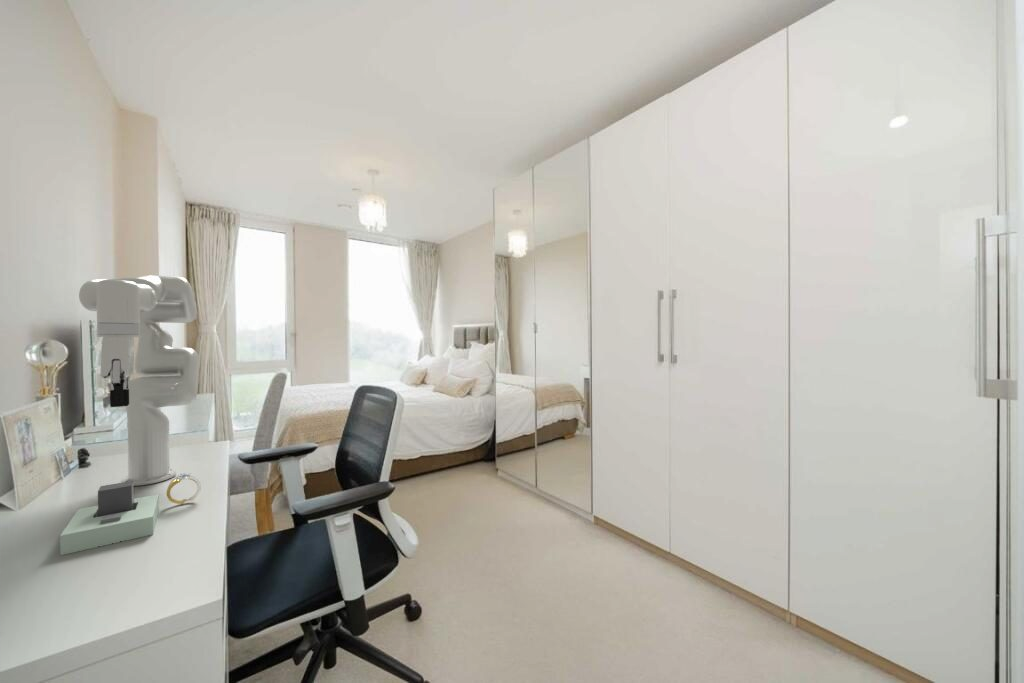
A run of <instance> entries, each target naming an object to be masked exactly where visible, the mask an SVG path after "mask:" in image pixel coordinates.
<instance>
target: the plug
mask: <svg viewBox="0 0 1024 683" xmlns="http://www.w3.org/2000/svg"><path fill="white" fill-rule="evenodd" d="M134 495H135V494H134V486H133V481H129V482H123V483H121V482H118V483H112V484H105V485H100V487H99V488H98V490H97V505H98V517H100V516H105V515H111V514H116V513H121V512H126V511H131V510H134V499H135V497H134Z"/></svg>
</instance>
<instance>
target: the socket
mask: <svg viewBox="0 0 1024 683" xmlns="http://www.w3.org/2000/svg"><path fill="white" fill-rule="evenodd" d="M159 495H160V494H153V495H148V496H142V497H137V498H134V510H131V511H126V512H121V513H116V514H111V515H105V516H100V517H98V504H97V505H92V506H87V507H80V508H78V509H77V511H76V512H75V514H74V515H73V516H72V517H71V519H70V521H69V522H68V523H67V525H66V527H65V528H64V529H63V531H62V532H61V534H60V535H59V540H60V542H59V544H60V545H59V546H60V549H59V551H60V553H59V554H60V556H65V555H67V554H73V553H76V552H82V551H85V550H91V549H95V548H99V547H98V546H100V547H102V546H108V545H112V543H113V544H117V543H121V542H120V541H122V542H126V541H129V540H134V539H139V538H143V537H144V538H145V537H149V536H152V535H154V533H155V527H156V524H157V519H158V515H159V511H160V501H159V500H160V499H159V498H160V497H159ZM125 540H126V541H125Z"/></svg>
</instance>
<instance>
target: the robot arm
mask: <svg viewBox="0 0 1024 683" xmlns="http://www.w3.org/2000/svg"><path fill="white" fill-rule="evenodd" d="M78 292H79V293H78V298H79V299H78V300H79V302H80V304H81V305H82V306H83V307H84V308H85V309H86V310H88V311H91V312H96V337H97V338H102V340H101V350H100V378H101V379H103V380H105V379H107V378H110V379H109V381H110V390H109V404H110V405H109V407H111V408H118V407H119V408H120V407H125V409H126V417H127V419H126V421H127V463H128V466H127V468H128V469H127V470H128V471H127V476H124V477H123V478H122V479H121V480H120V483H123V482H129V481H133V487H134V486H135V487H136V486H137V487H138V486H144V485H145V486H146V485H152V484H156V483H161V482H163V481H166V480H167V481H168V480H169V479H172V478H175V476H177V475H176V474H177V471H176V469H173V468H170V465H171V464H170V462H171V461H170V420H169V418H168V416H167V415H166V414H165V413H164V412H162V410H161V409H159V408H167V407H175V406H176V407H179V406H188V405H191V404H193V403H194V402H195V401H196V399H197V395H198V388H199V372H200V359H199V354H198V352H197V351H196V350H195V349H194V348H191V347H173V342H174V339H173V336H172V335H171V334H170V333H169V332H168V331H167V330H166V329H165V328H164V327H162V326H161V325H159V324H157V323H168V324H170V323H172V324H174V323H175V324H188V323H191V322H193V321H195V320H196V319H197V315H198V309H197V308H198V307H197V303H196V299H195V294H194V290H193V288H192V286H191V283H190V282H189V281H188V280H187V279H186V278H184V277H180V276H170V275H153V274H143V275H140V276H136V277H119V278H102V279H101V278H100V279H91V280H87V281H85V282H84V283H83V284H82V285H81V286H80V289H79V291H78ZM135 338H138V343H137V348H136V354H135V345H134V343H135V341H134V340H135ZM134 356H135V357H134ZM134 358H135V359H134ZM134 370H135V373H136V374H137V375H138V376H140V377H135V378H132V379H129V377H130V376H132V375H133V373H134Z"/></svg>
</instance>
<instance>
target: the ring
mask: <svg viewBox="0 0 1024 683" xmlns="http://www.w3.org/2000/svg"><path fill="white" fill-rule="evenodd" d="M185 480H191V481H194V482H195V484H196V486H197V489H196V492H195V494H194V495H192V496H191V497H190V498H185V499H182V500H178V499H175V498H173V497H172V495H171V490H172V489H173V488H174V486H176V485H177V484H178V483H180V482H181V481H185ZM201 489H202V484H201V481H200V480H199V478H197V477H195V476H191V472H188V474H187V473H186V472H182V473H179V475H175V476H174V479H172V480H171V481H170V482H169V484H168V486H167V489H166V498H167V499H168V501H170V502H171V503H172V504H178V505H181V504H182V505H186V504H187V503H190V502H192V501H193V500H194V499H196V498H197V497H198V496H199V494H200V492H201Z"/></svg>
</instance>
